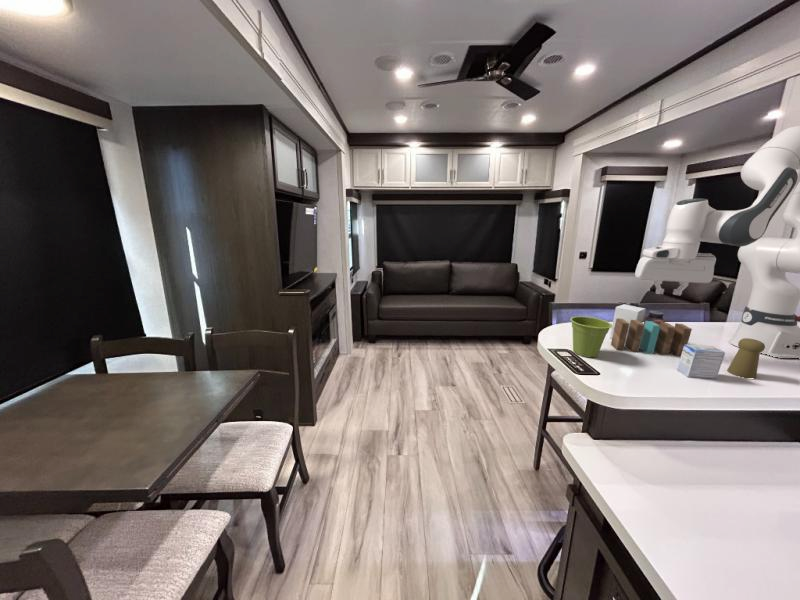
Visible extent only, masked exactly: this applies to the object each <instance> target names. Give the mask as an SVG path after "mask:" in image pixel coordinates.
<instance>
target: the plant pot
mask: <svg viewBox="0 0 800 600" xmlns="http://www.w3.org/2000/svg"><path fill="white" fill-rule="evenodd" d="M570 322H571V328H572V351H574V352H573V353H575V354H576V355H578V356H580V355H581V356H580V357H584V358H591V357H593V358H596V357H598V355H599V353H600V350H601V348H602V345H603V343H604V340H605V339H606V335H607V334H608V332H609V330H610V329H612V324H613V323H611V322H609V321H607V320H604V319H601V318H598V317H591V316H583V315H582V316H572V317H571V318H570Z"/></svg>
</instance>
